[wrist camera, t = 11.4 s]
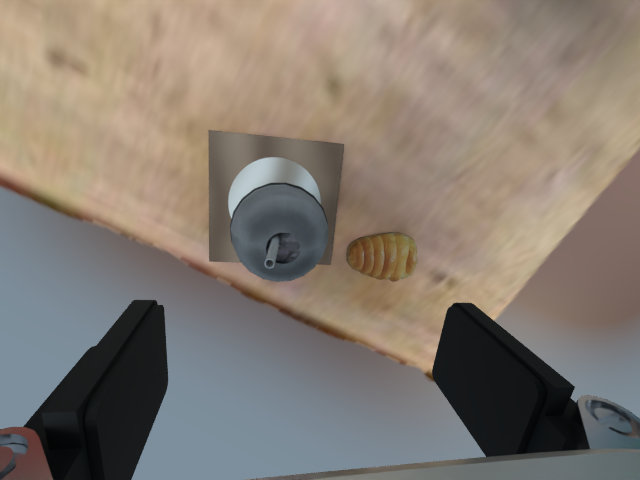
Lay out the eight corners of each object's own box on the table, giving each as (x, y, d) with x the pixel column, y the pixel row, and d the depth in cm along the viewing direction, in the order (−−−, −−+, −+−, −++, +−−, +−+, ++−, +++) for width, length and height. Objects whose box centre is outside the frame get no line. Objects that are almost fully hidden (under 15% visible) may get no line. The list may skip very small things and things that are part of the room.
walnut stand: (334, 143, 38) (345, 144, 33) (323, 251, 42) (331, 265, 37) (215, 131, 36) (207, 130, 31) (215, 247, 40) (208, 262, 35)
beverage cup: (277, 248, 35) (291, 367, 17) (226, 205, 33) (175, 287, 14) (322, 201, 35) (389, 271, 16) (273, 154, 32) (283, 170, 14)
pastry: (342, 273, 44) (349, 285, 41) (348, 227, 42) (356, 235, 39) (403, 275, 46) (415, 286, 42) (412, 231, 44) (425, 239, 41)
